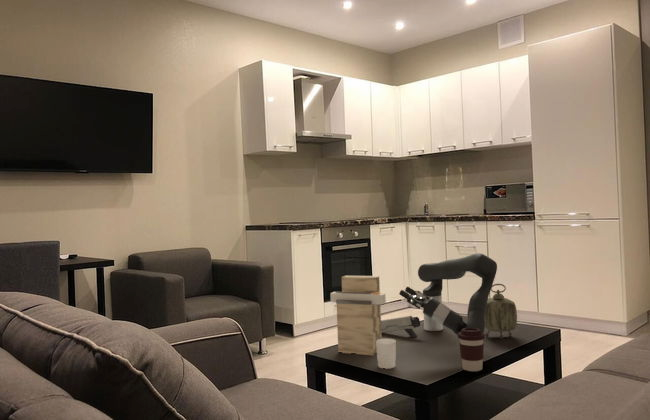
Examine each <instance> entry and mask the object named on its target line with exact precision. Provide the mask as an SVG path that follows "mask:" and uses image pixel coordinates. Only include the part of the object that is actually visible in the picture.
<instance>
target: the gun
mask: <svg viewBox="0 0 650 420" xmlns="http://www.w3.org/2000/svg"><path fill="white" fill-rule="evenodd" d="M420 320H421V319H420V318H419V317H418V316H413V315H407V316H401V317H394V318H389V319H388V318H387V319H384V320H383V319H381V334H383V333H385V334H386V333H389V332H391V333H392V332H398V331H399V332H400V331H405V332H406V333H407V335H408V336H409V337H410V338H417V337H418V334H417V333H416V332H415V331H414V330H413V329H416V328H419V327H420V326H421V321H420Z"/></svg>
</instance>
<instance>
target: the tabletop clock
mask: <svg viewBox="0 0 650 420" xmlns="http://www.w3.org/2000/svg"><path fill="white" fill-rule="evenodd" d="M494 286H502V287H503V288H504V289H503V290H500V289H497V290H496V291H495V290H493V289H492V288H493V287H494ZM492 288H491V290H490V292H492V293H494V294H493V296H492V297H488V300H487V306H486V313H485V329H486V330H487V332H486V333H484V334H485V337H489V335H490V334H489V333H490V332H499V334H500V335H499V339H500V340H503V339H504V335H502V334H503V333H505V332H508V333H507V334H508V336H509V337H511V336H512V332H511V331H514V330H515V329H516V328H517V324H518V323H517V322H518V314H517V313H518V311H517V306H516V303H515V302H514V301H513V300H511V299H509V298H506V297H504V295H503V294H502V293H504V292H505V291H506V290H507V287H506V286H505V285H504V284H502V283H494V284H493V285H492Z"/></svg>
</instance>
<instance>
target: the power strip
mask: <svg viewBox="0 0 650 420" xmlns="http://www.w3.org/2000/svg"><path fill="white" fill-rule="evenodd" d="M386 299H387V298H386V293H381V292H380V293H378V292H375V293H362V292H342V291H332V292H330V303H336V300H361V301H372V304H380V305H385V304H386V303H387V302H386V301H387V300H386Z"/></svg>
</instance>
